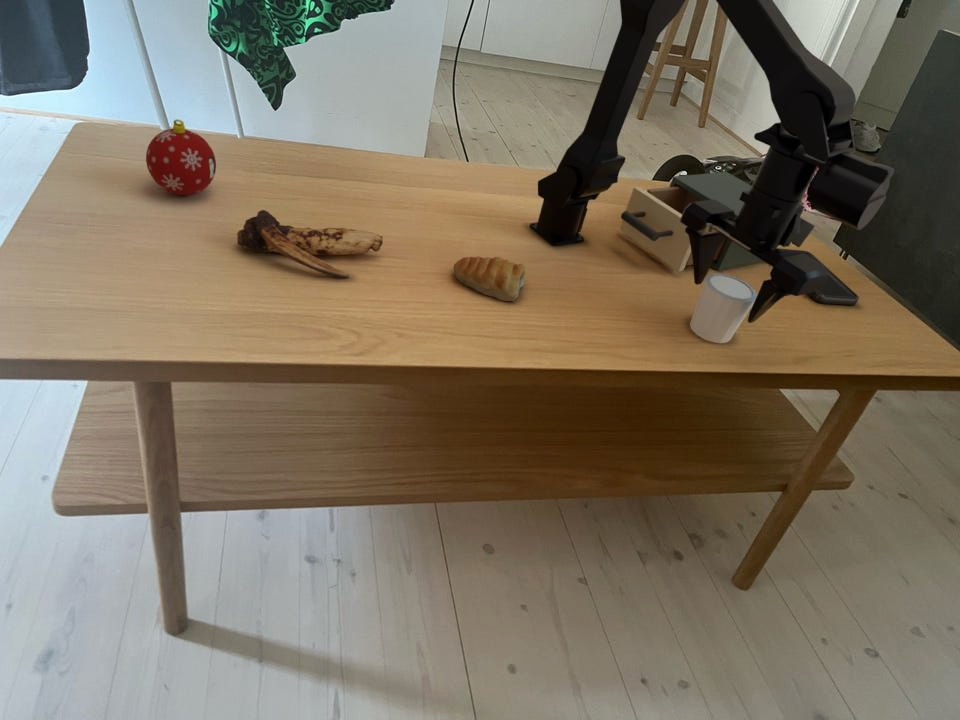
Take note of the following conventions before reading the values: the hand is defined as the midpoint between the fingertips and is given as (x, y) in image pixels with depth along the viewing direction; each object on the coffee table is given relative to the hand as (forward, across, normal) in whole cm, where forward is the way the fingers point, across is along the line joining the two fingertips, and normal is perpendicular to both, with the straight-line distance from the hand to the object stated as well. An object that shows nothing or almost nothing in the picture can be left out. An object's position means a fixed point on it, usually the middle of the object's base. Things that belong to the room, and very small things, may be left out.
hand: (723, 302), depth 88 cm
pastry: (+5, +18, +24) cm, 30 cm away
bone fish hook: (+5, +30, +44) cm, 53 cm away
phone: (+5, +5, -31) cm, 32 cm away
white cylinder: (+5, 0, 0) cm, 5 cm away
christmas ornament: (+5, +51, +54) cm, 74 cm away
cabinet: (+5, +19, -22) cm, 29 cm away
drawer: (+4, +19, -10) cm, 22 cm away
